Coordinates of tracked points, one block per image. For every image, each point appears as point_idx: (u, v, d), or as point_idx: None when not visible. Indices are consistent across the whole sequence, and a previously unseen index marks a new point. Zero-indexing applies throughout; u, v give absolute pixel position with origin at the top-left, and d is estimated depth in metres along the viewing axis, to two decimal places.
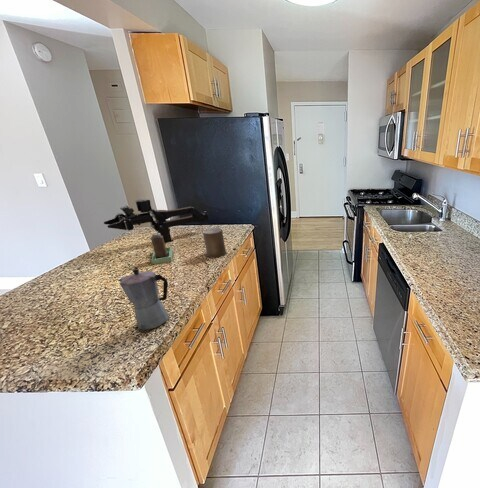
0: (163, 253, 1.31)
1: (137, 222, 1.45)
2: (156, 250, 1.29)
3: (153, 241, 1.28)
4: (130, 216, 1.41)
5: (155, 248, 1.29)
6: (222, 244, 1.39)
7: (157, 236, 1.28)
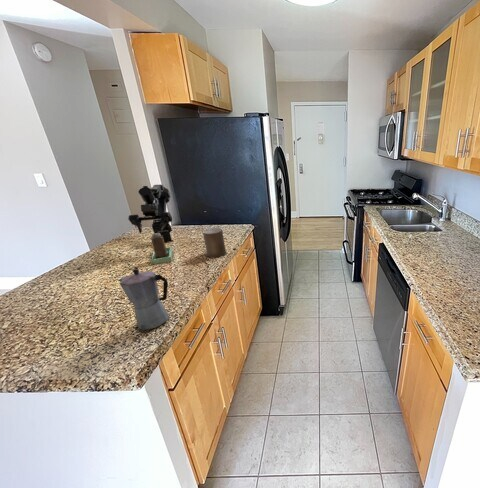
0: (163, 253, 1.31)
1: None
2: (156, 250, 1.29)
3: (153, 241, 1.28)
4: (155, 210, 1.38)
5: (155, 248, 1.29)
6: (222, 244, 1.39)
7: (157, 236, 1.28)
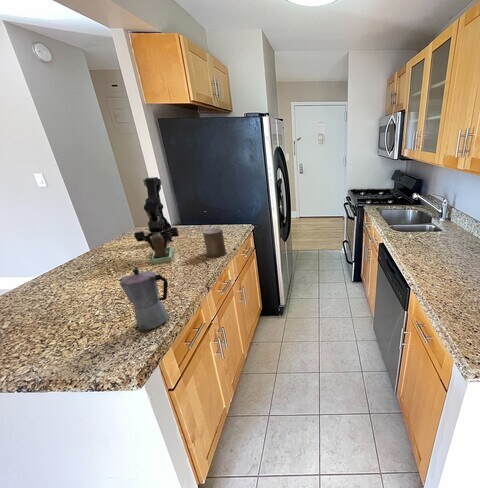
0: (163, 253, 1.31)
1: None
2: (156, 250, 1.29)
3: (153, 241, 1.28)
4: (162, 226, 1.33)
5: (155, 248, 1.29)
6: (222, 244, 1.39)
7: (157, 236, 1.28)
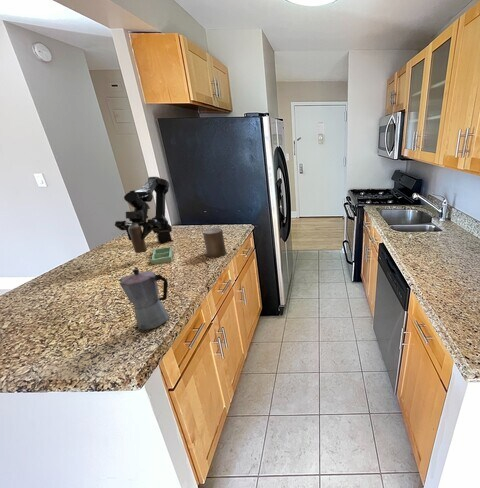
0: (139, 244, 1.28)
1: (146, 216, 1.34)
2: (133, 240, 1.26)
3: (129, 231, 1.25)
4: (142, 217, 1.30)
5: (131, 239, 1.26)
6: (222, 244, 1.39)
7: (133, 227, 1.25)
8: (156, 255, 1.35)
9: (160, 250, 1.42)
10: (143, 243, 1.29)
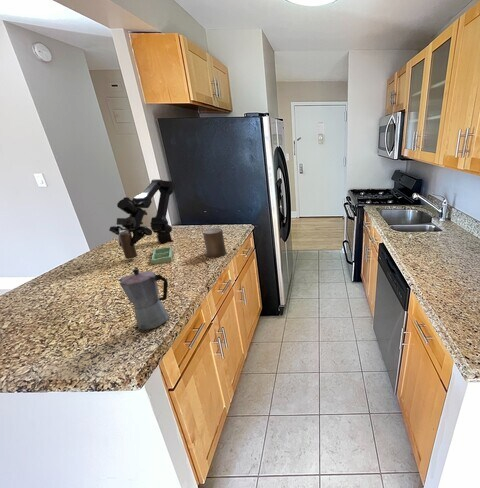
0: (128, 250, 1.30)
1: (140, 223, 1.36)
2: (122, 246, 1.29)
3: (119, 237, 1.28)
4: (134, 223, 1.31)
5: (121, 245, 1.29)
6: (222, 244, 1.39)
7: (122, 233, 1.27)
8: (156, 255, 1.35)
9: (160, 250, 1.42)
10: (132, 249, 1.31)
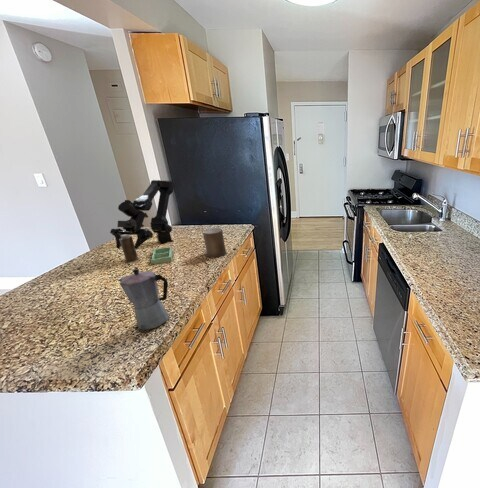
0: (129, 255, 1.30)
1: (141, 225, 1.37)
2: (123, 251, 1.30)
3: (120, 242, 1.28)
4: (135, 226, 1.32)
5: (122, 249, 1.30)
6: (222, 244, 1.39)
7: (123, 237, 1.28)
8: (156, 255, 1.35)
9: (160, 250, 1.42)
10: (133, 253, 1.32)
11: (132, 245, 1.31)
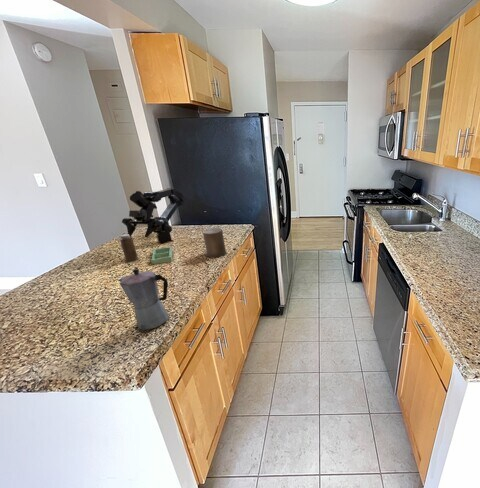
0: (129, 255, 1.30)
1: (151, 216, 1.44)
2: (123, 251, 1.30)
3: (120, 242, 1.28)
4: (145, 216, 1.39)
5: (122, 249, 1.30)
6: (222, 244, 1.39)
7: (123, 237, 1.28)
8: (156, 255, 1.35)
9: (160, 250, 1.42)
10: (133, 253, 1.32)
11: (132, 245, 1.31)
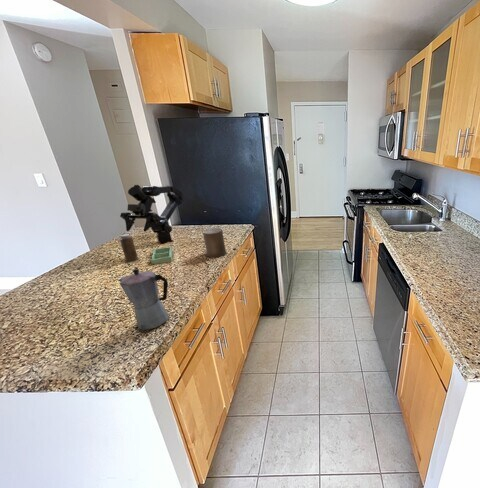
0: (129, 255, 1.30)
1: (149, 210, 1.42)
2: (123, 251, 1.30)
3: (120, 242, 1.28)
4: (143, 210, 1.38)
5: (122, 249, 1.30)
6: (222, 244, 1.39)
7: (123, 237, 1.28)
8: (156, 255, 1.35)
9: (160, 250, 1.42)
10: (133, 253, 1.32)
11: (132, 245, 1.31)
